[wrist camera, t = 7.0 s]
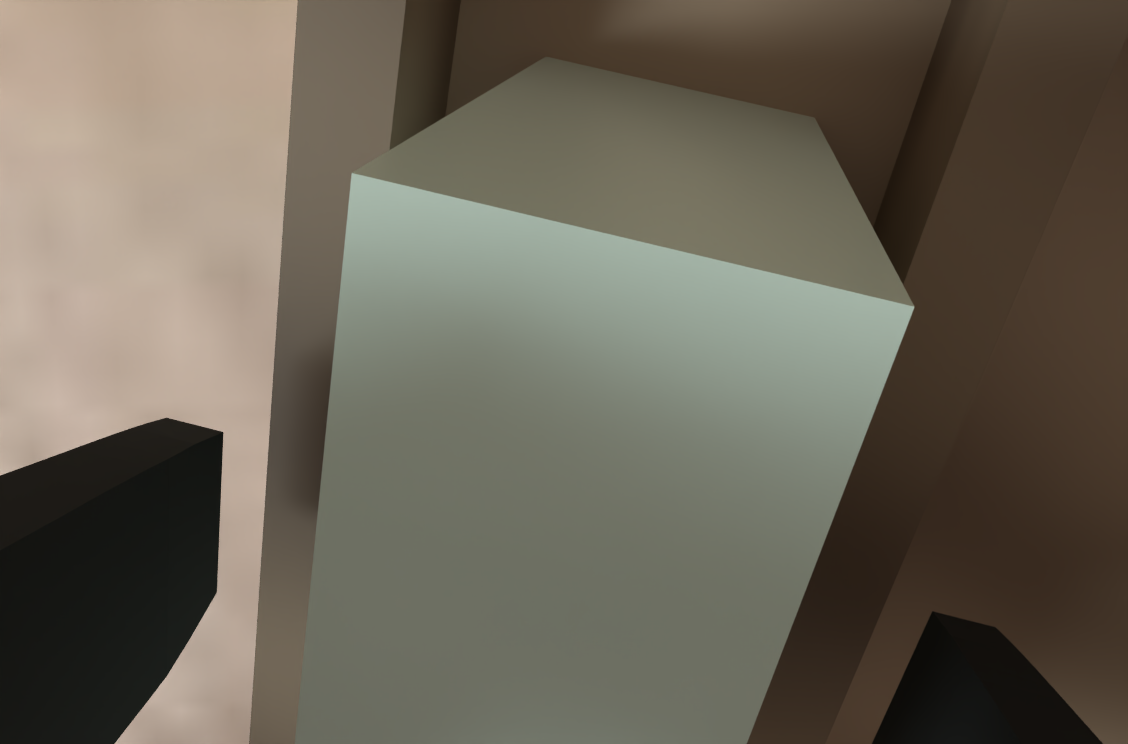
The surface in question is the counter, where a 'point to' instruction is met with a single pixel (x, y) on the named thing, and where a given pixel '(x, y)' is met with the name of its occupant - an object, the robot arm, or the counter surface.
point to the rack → (919, 256)
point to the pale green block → (587, 416)
